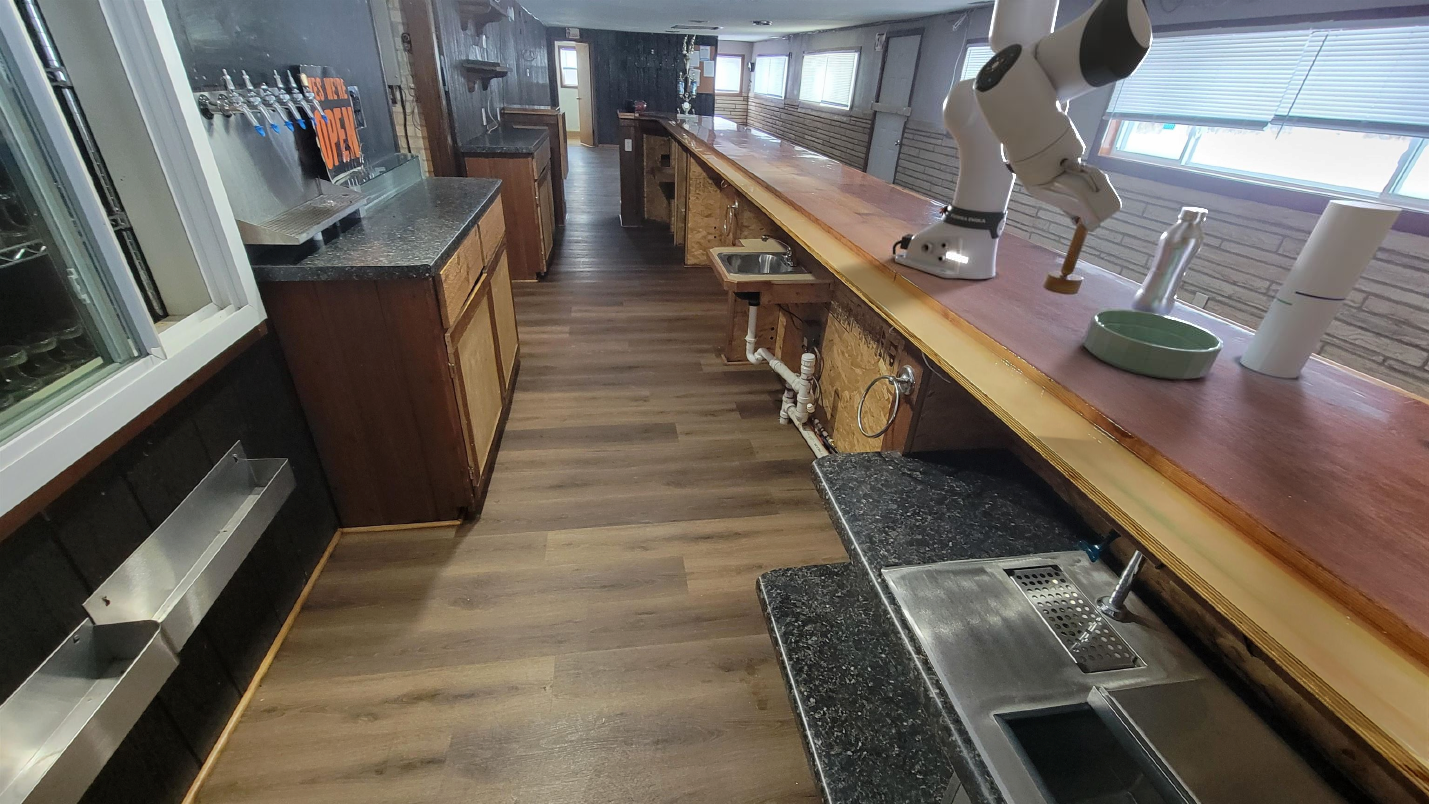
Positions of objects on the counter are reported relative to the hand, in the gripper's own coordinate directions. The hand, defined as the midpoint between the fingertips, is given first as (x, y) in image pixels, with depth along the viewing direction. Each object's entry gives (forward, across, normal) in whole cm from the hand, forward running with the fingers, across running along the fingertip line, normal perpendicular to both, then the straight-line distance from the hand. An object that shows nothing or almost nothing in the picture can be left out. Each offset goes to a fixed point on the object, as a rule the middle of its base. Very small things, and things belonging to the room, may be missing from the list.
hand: (1087, 226), depth 89 cm
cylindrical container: (+35, -10, -8) cm, 37 cm away
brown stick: (+7, 0, +8) cm, 10 cm away
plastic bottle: (+31, +12, -5) cm, 34 cm away
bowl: (+21, -8, +5) cm, 23 cm away
